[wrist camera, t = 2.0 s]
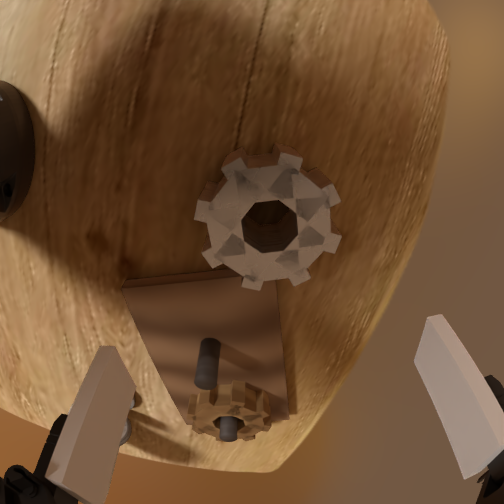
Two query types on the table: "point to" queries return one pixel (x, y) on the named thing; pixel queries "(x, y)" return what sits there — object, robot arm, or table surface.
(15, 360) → the table surface
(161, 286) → the gear board
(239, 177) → the steel gear
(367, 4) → the table surface
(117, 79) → the table surface
